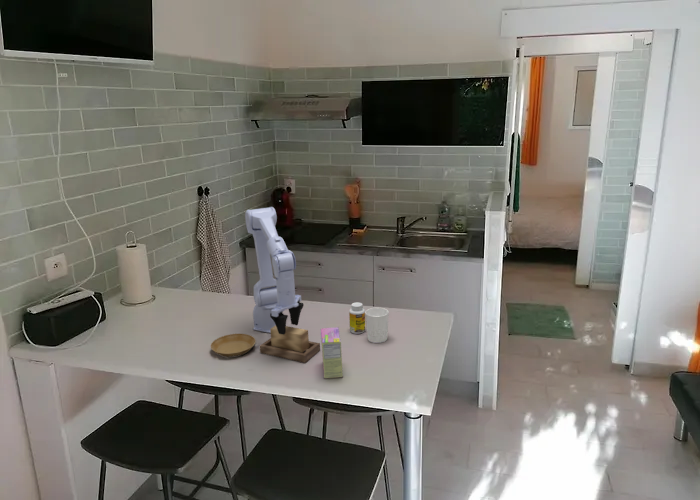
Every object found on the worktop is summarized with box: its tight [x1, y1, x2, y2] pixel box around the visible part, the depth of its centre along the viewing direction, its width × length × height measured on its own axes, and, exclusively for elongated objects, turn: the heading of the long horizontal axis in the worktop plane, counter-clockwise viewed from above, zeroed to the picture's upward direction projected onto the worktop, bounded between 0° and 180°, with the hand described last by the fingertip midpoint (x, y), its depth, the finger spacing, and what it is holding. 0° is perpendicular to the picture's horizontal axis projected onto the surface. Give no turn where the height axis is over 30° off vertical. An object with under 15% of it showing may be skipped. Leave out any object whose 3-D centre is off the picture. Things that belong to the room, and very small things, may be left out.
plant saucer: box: [210, 333, 257, 358], centre depth 180 cm, size 15×15×3 cm
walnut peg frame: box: [259, 337, 321, 364], centre depth 177 cm, size 17×9×3 cm, turn 63°
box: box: [320, 326, 343, 379], centre depth 163 cm, size 10×6×12 cm, turn 5°
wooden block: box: [270, 325, 310, 352], centre depth 176 cm, size 12×4×6 cm, turn 63°
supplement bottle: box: [348, 302, 366, 335], centre depth 189 cm, size 6×6×10 cm
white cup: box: [365, 307, 390, 344], centre depth 183 cm, size 8×8×10 cm
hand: (288, 328), depth 175 cm, fingers open, 7 cm apart
